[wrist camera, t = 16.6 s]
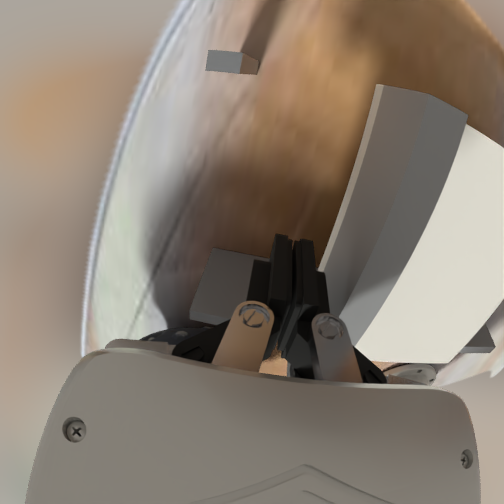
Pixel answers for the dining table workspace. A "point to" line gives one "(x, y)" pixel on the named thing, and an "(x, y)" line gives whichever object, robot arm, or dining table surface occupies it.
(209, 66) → the housing
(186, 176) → the dining table surface
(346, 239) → the lid
